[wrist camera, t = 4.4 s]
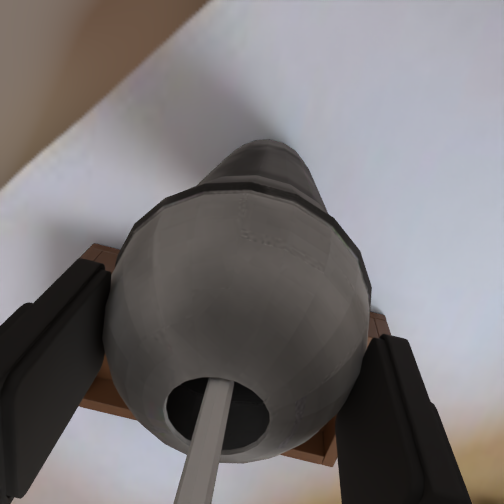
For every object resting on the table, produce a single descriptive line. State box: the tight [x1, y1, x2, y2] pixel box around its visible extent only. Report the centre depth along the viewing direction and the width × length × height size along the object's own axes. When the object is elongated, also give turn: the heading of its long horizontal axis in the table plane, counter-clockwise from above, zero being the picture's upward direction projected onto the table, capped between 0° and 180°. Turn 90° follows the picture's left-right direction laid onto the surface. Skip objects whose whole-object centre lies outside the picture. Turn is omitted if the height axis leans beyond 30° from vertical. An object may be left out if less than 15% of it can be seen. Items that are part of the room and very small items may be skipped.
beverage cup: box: [102, 139, 372, 504], centre depth 13 cm, size 7×7×20 cm
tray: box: [79, 243, 391, 467], centre depth 26 cm, size 18×11×3 cm, turn 77°
